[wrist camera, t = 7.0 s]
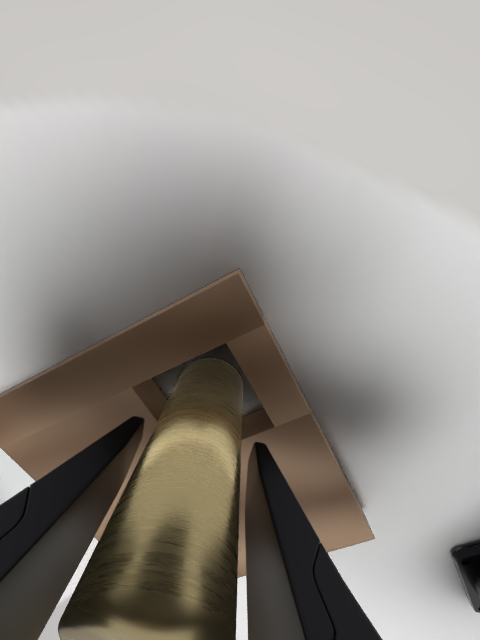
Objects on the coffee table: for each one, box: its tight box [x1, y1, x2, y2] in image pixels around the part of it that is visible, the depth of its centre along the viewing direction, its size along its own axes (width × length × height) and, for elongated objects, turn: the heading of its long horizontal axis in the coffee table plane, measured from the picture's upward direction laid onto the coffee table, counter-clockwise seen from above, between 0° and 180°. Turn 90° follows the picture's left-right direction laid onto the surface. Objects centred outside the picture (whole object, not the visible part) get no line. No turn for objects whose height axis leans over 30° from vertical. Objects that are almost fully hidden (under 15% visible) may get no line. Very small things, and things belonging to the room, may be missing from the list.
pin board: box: [0, 268, 375, 578], centre depth 10 cm, size 16×14×7 cm
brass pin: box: [58, 358, 243, 640], centre depth 8 cm, size 3×3×8 cm
